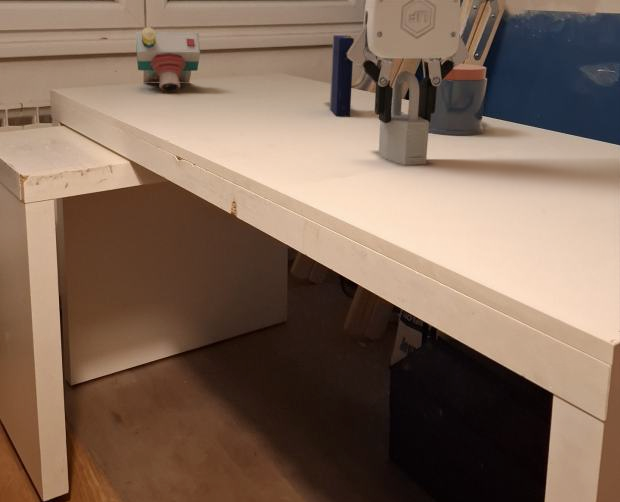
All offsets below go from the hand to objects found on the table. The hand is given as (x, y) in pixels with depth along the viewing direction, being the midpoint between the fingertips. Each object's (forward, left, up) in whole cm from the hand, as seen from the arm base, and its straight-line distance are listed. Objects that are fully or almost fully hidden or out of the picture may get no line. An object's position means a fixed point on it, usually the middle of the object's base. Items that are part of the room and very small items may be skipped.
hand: (404, 119), depth 88 cm
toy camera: (+28, -67, -6) cm, 73 cm away
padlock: (0, 0, -5) cm, 5 cm away
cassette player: (0, -39, -6) cm, 39 cm away
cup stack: (-14, -24, -5) cm, 29 cm away
